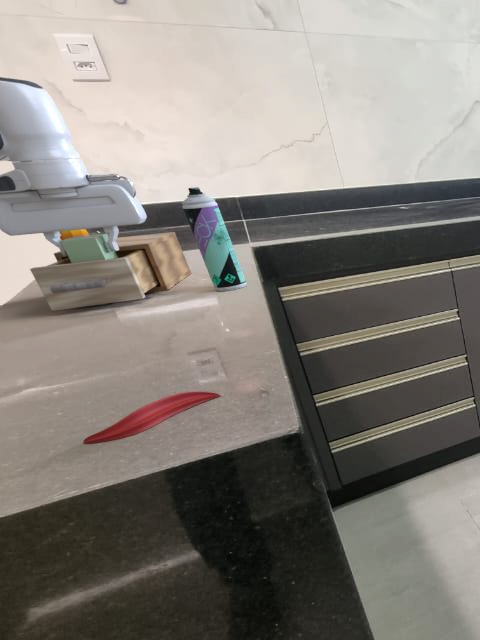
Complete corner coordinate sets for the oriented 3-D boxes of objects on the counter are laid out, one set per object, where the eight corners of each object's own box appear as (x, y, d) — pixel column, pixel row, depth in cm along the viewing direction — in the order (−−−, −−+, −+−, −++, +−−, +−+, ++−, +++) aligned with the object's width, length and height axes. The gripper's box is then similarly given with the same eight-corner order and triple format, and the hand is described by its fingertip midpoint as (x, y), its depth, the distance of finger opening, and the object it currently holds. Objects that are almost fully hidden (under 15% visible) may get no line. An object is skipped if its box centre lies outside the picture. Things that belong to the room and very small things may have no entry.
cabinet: (168, 290, 111) (147, 243, 107) (77, 301, 106) (53, 253, 102) (191, 273, 124) (174, 231, 120) (112, 283, 119) (92, 240, 115)
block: (73, 267, 99) (60, 241, 97) (86, 262, 103) (74, 236, 101) (107, 263, 101) (95, 237, 99) (118, 258, 105) (107, 233, 103)
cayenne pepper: (84, 450, 52) (75, 434, 52) (81, 435, 55) (72, 419, 55) (227, 403, 60) (221, 388, 60) (218, 392, 63) (212, 378, 63)
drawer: (134, 304, 98) (115, 262, 95) (39, 317, 94) (15, 274, 90) (170, 281, 114) (154, 244, 111) (89, 291, 109) (71, 253, 106)
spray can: (219, 286, 112) (181, 187, 103) (249, 282, 114) (214, 185, 105) (212, 292, 107) (171, 190, 99) (243, 288, 109) (206, 187, 101)
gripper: (134, 171, 102) (164, 243, 107) (-8, 181, 95) (32, 257, 100) (120, 173, 96) (152, 249, 102) (-32, 183, 89) (12, 264, 95)
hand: (92, 253), depth 101 cm, fingers closed on block, 5 cm apart
